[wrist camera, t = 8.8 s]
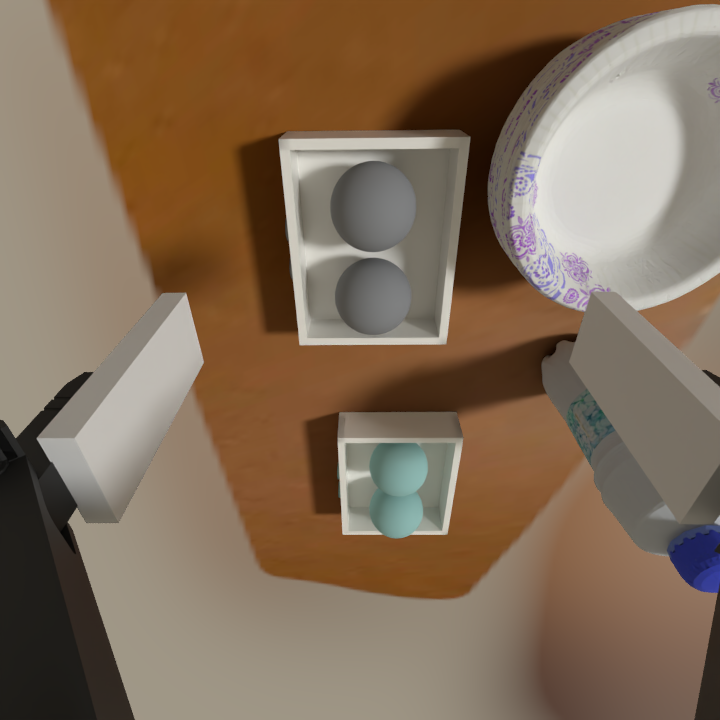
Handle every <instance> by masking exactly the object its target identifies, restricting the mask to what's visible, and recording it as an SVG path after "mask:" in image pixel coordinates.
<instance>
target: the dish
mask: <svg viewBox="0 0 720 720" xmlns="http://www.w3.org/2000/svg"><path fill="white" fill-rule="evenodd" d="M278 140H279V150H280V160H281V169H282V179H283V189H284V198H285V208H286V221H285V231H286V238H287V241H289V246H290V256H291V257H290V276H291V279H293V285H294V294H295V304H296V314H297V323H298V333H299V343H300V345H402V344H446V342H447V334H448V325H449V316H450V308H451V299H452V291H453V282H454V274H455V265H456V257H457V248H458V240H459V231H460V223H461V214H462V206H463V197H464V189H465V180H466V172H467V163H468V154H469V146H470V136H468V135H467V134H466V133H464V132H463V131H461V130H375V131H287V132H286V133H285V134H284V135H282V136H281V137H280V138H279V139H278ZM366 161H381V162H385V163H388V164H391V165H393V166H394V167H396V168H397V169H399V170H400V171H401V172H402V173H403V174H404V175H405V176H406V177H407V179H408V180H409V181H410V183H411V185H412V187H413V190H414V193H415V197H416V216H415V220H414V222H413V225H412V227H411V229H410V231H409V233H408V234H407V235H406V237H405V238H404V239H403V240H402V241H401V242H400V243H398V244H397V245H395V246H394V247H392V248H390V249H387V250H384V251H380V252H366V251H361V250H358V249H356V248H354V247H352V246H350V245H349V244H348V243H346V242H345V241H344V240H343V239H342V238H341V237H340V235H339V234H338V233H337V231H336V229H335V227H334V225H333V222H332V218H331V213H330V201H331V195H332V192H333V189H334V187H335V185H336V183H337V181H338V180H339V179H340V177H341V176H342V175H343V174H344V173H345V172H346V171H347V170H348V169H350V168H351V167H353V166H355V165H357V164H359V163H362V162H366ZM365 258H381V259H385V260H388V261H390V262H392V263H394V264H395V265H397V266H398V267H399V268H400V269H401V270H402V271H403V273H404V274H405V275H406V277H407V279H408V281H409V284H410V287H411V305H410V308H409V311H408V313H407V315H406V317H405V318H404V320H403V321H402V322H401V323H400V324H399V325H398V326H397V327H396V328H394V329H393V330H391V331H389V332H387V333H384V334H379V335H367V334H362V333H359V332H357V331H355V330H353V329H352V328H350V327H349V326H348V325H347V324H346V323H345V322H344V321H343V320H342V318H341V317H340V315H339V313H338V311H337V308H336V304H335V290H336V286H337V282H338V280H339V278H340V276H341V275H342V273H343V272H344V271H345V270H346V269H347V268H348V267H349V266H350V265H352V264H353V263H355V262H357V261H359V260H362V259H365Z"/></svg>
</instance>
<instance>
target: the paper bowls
mask: <svg viewBox="0 0 720 720" xmlns="http://www.w3.org/2000/svg"><path fill="white" fill-rule="evenodd" d="M488 207H489V214H490V218H491V222H492V225H493V228H494V231H495V235H496V237H497V239H498V241H499V243H500V245H501V247H502V248H503V250H504V251H505V253H506V254H507V255H508V257H509V258H510V260H511V261H512V263H513V264H514V265H515V266H516V267H517V269H518V270H519V271H520V273H521V274H522V275H523V276H524V277H525V279H526V280H527V281H528V282H529V283H530V284H531V285H532V286H533V287H534V288H535V289H536V290H537V291H539V292H540V293H541V294H542V295H544V296H545V297H547V298H549V299H550V300H552V301H554V302H556V303H558V304H560V305H562V306H565V307H567V308H570V309H574V310H577V311H582V312H585V310H586V307H587V304H588V301H589V298H590V295H591V292H616V293H618V294H619V295H620V296H621V297H622V298H623V299H624V300H625V301H626V302H627V303H628V304H630V305H631V306H632V307H633V308H634V309H635V310H636V311H638V310H642V309H646V308H650V307H654V306H657V305H659V304H662V303H665V302H668V301H671V300H673V299H676V298H678V297H680V296H682V295H684V294H686V293H688V292H690V291H692V290H693V289H695V288H697V287H698V286H700V285H702V284H704V283H705V282H707V281H708V280H709V279H711V278H712V277H714V276H715V275H717V274H718V273H720V5H715V4H710V5H703V4H702V5H692V6H688V7H683V8H678V9H672V10H666V11H660V12H656V13H651V14H645V15H640V16H635V17H631V18H628V19H624V20H621V21H618V22H616V23H613V24H610V25H608V26H606V27H603V28H601V29H599V30H597V31H595V32H593V33H590V34H588V35H586V36H585V37H583V38H581V39H580V40H578V41H576V42H575V43H573V44H572V45H570V46H568V47H567V48H565V49H564V50H563V51H561V52H560V53H559V54H558V55H557V56H556V57H554V58H553V59H552V60H551V61H550V62H549V63H548V64H547V65H546V66H545V67H544V68H543V69H542V71H541V72H540V73H539V74H538V75H537V76H536V77H535V78H534V79H533V81H532V82H531V83H530V84H529V86H528V87H527V88H526V90H525V91H524V92H523V94H522V95H521V97H520V98H519V99H518V101H517V103H516V105H515V106H514V108H513V110H512V111H511V113H510V115H509V116H508V118H507V120H506V122H505V124H504V126H503V128H502V131H501V133H500V136H499V138H498V141H497V143H496V147H495V150H494V154H493V156H492V161H491V166H490V171H489V178H488Z"/></svg>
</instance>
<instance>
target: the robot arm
mask: <svg viewBox="0 0 720 720" xmlns="http://www.w3.org/2000/svg"><path fill="white" fill-rule="evenodd" d="M203 363H204V361H203V358H202V354H201V350H200V346H199V342H198V338H197V334H196V330H195V326H194V322H193V318H192V314H191V310H190V306H189V302H188V299H187V295H186V293H162V294H161V295H160V297H159V298H158V299H157V300H156V301H155V302H154V304H153V305H152V306H151V307H150V308H149V309H148V310H147V312H146V313H145V314H144V315H143V316H142V317H141V319H140V320H139V321H138V322H137V323H136V324H135V325H134V327H133V328H132V329H131V330H130V331H129V332H128V334H127V335H126V336H125V337H124V338H123V339H122V340H121V342H120V343H119V344H118V345H117V346H116V347H115V348H114V350H113V351H112V352H111V353H110V354H109V355H108V357H107V358H106V359H105V360H104V361H103V362H102V363H101V365H100V366H99V367H98V368H97V369H96V370H95V371H94V372H84V373H83V374H81V375H79V376H78V377H76V378H75V379H73V380H72V381H70V382H68V383H67V384H66V385H65V386H64V387H63V388H62V389H61V390H60V391H59V392H58V393H57V395H56V396H55V397H54V400H51V401H50V402H49V403H48V404H47V405H46V406H45V408H44V411H41V412H40V413H39V414H38V415H37V416H36V417H35V418H34V419H33V421H32V422H31V423H30V424H29V425H28V426H27V427H26V428H25V429H24V430H23V432H22V433H21V434H20V435H19V436H18V437H17V438H16V439H15V437H14V435H13V434H12V432H11V431H10V429H9V428H8V426H7V425H6V424H5V422H4V421H3V420H0V720H135V719H134V716H133V713H132V710H131V707H130V704H129V701H128V698H127V694H126V691H125V689H124V685H123V682H122V679H121V676H120V673H119V670H118V667H117V664H116V661H115V658H114V655H113V652H112V649H111V646H110V643H109V639H108V637H107V633H106V630H105V627H104V624H103V621H102V618H101V615H100V612H99V609H98V606H97V603H96V600H95V597H94V594H93V591H92V588H91V584H90V581H89V579H88V576H87V572H86V569H85V566H84V563H83V560H82V557H81V554H80V551H79V548H78V545H77V542H76V539H75V536H74V533H73V530H72V528H71V527H70V525H69V524H68V520H69V519H70V517H71V515H72V514H73V512H74V511H75V509H76V508H78V510H79V512H80V513H81V515H82V517H83V518H84V520H85V522H86V523H119V521H120V519H121V517H122V516H123V514H124V512H125V510H126V508H127V506H128V504H129V502H130V500H131V499H132V497H133V495H134V493H135V491H136V489H137V487H138V485H139V483H140V482H141V480H142V478H143V476H144V474H145V472H146V470H147V468H148V466H149V465H150V463H151V461H152V459H153V457H154V455H155V453H156V452H157V450H158V448H159V446H160V444H161V442H162V440H163V438H164V436H165V434H166V433H167V431H168V429H169V427H170V425H171V423H172V421H173V420H174V418H175V416H176V414H177V412H178V410H179V408H180V406H181V404H182V403H183V401H184V399H185V397H186V395H187V393H188V391H189V389H190V388H191V386H192V384H193V382H194V380H195V378H196V376H197V374H198V373H199V371H200V369H201V367H202V365H203ZM569 363H570V364H571V366H572V367H573V369H574V370H575V372H576V373H577V374H578V376H579V377H580V379H581V380H582V382H583V383H584V385H585V386H586V388H587V389H588V391H589V392H590V394H591V395H592V396H593V398H594V399H595V401H596V402H597V404H598V405H599V407H600V408H601V410H602V411H603V413H604V414H605V416H606V417H607V418H608V420H609V421H610V423H611V424H612V426H613V427H614V429H615V430H616V432H617V433H618V435H619V436H620V437H621V439H622V440H623V442H624V443H625V445H626V446H627V448H628V449H629V451H630V452H631V454H632V455H633V457H634V458H635V459H636V461H637V462H638V464H639V465H640V467H641V468H642V470H643V471H644V473H645V474H646V476H647V477H648V479H649V480H650V481H651V483H652V484H653V486H654V487H655V489H656V490H657V492H658V493H659V495H660V496H661V498H662V499H663V501H664V502H665V503H666V505H667V506H668V508H669V509H670V511H671V512H672V514H673V515H674V517H675V518H676V520H677V521H678V522H679V524H714V522H715V521H716V519H717V518H718V517H719V515H720V377H718V376H716V375H714V374H712V373H711V372H709V371H707V370H700V369H699V368H698V367H697V366H696V365H695V364H694V363H693V362H692V361H691V360H690V359H689V358H687V357H686V356H685V355H684V354H683V353H682V352H681V351H680V350H679V349H678V348H677V347H675V346H674V345H673V344H672V343H671V342H670V341H669V340H668V339H667V338H666V337H664V336H663V335H662V334H661V333H660V332H659V331H658V330H657V329H656V328H655V327H654V326H652V325H651V324H650V323H649V322H648V321H647V320H646V319H645V318H644V317H643V316H642V315H640V314H639V313H638V312H637V311H636V310H635V309H634V308H633V307H632V306H631V305H630V304H628V303H627V302H626V301H625V300H624V299H623V298H622V297H621V296H620V295H619V294H618V293H616V292H591V295H590V298H589V301H588V304H587V307H586V310H585V314H584V317H583V320H582V323H581V326H580V329H579V332H578V335H577V339H576V342H575V345H574V348H573V351H572V354H571V357H570V360H569ZM714 551H715V552H717V553H719V554H720V543H719V544H718V546H717V547H716V549H715V550H714ZM695 720H720V584H719V589H718V595H717V600H716V606H715V612H714V617H713V622H712V628H711V633H710V638H709V644H708V649H707V655H706V661H705V666H704V671H703V677H702V682H701V688H700V693H699V698H698V704H697V709H696V714H695Z"/></svg>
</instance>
